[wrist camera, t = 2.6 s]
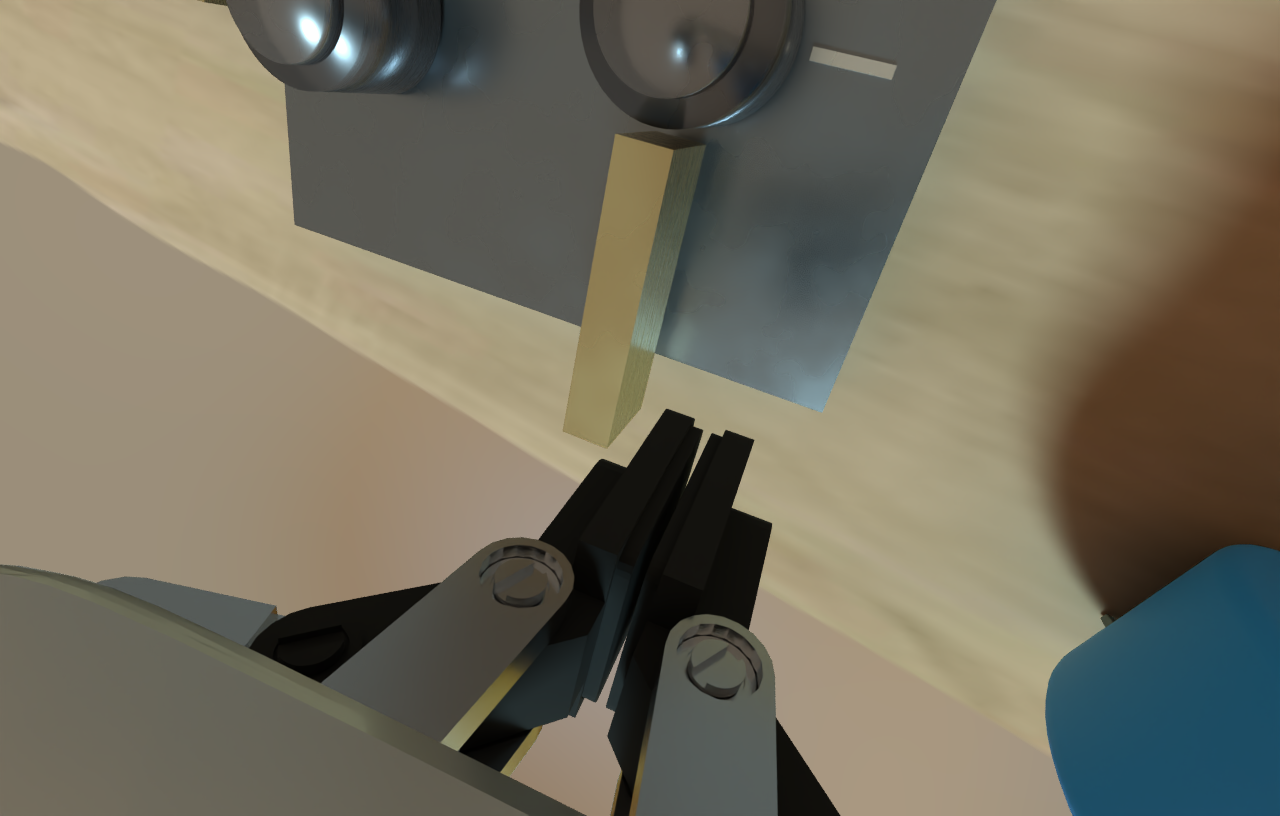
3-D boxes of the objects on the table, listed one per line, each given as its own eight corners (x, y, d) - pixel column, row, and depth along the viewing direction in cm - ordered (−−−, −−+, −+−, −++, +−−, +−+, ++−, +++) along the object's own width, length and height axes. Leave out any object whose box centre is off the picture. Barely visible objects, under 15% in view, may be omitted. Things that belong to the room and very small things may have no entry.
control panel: (1035, -110, 14) (1090, -193, 10) (827, 387, 20) (813, 449, 16) (319, -227, 18) (169, -316, 14) (336, 216, 24) (235, 235, 21)
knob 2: (650, -99, 14) (585, -156, 11) (832, -64, 13) (816, -116, 10) (568, 371, 21) (513, 415, 18) (689, 416, 20) (653, 471, 17)
